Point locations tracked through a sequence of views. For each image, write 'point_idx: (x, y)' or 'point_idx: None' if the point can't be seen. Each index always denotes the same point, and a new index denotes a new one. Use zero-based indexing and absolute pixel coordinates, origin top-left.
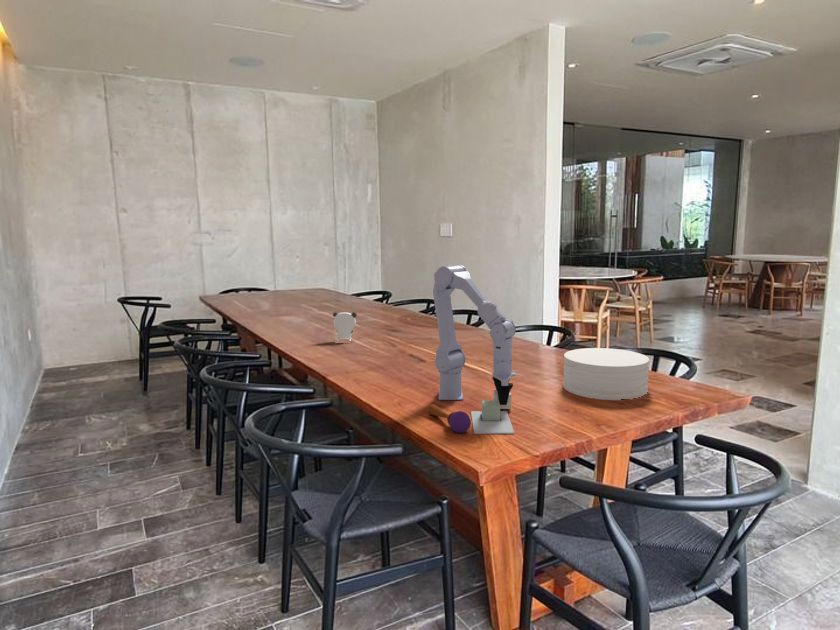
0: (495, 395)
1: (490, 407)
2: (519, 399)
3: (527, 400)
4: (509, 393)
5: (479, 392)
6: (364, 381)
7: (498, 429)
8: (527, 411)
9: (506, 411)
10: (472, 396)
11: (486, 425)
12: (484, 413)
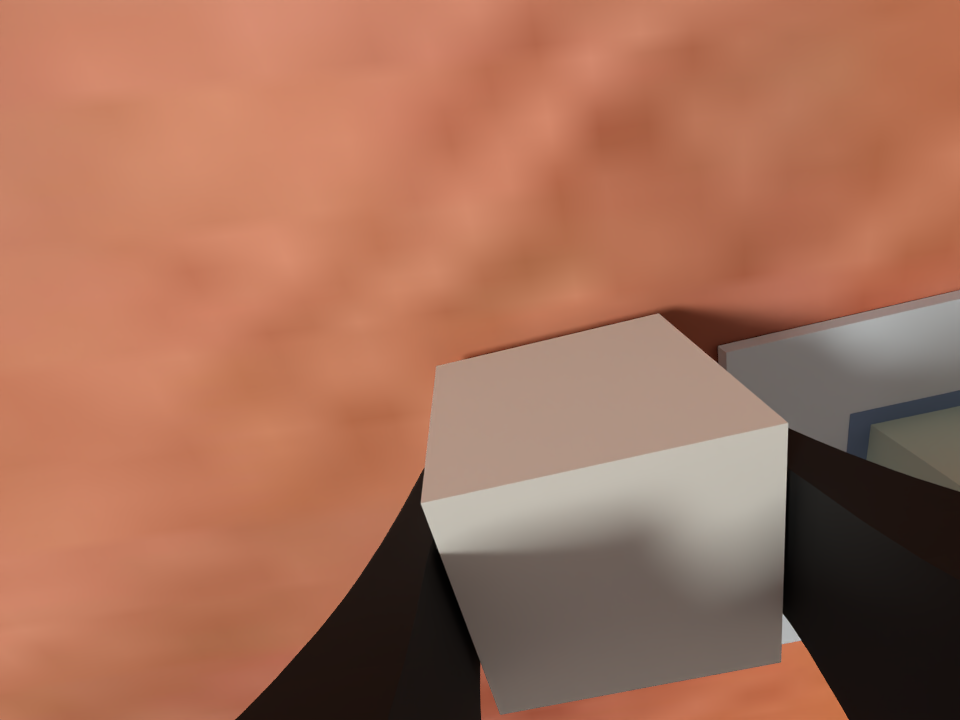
0: (772, 643)
1: None
2: (80, 250)
3: (57, 109)
4: (686, 468)
5: (79, 683)
6: None
7: None
8: (649, 49)
9: (736, 355)
10: (245, 705)
11: None
12: None
